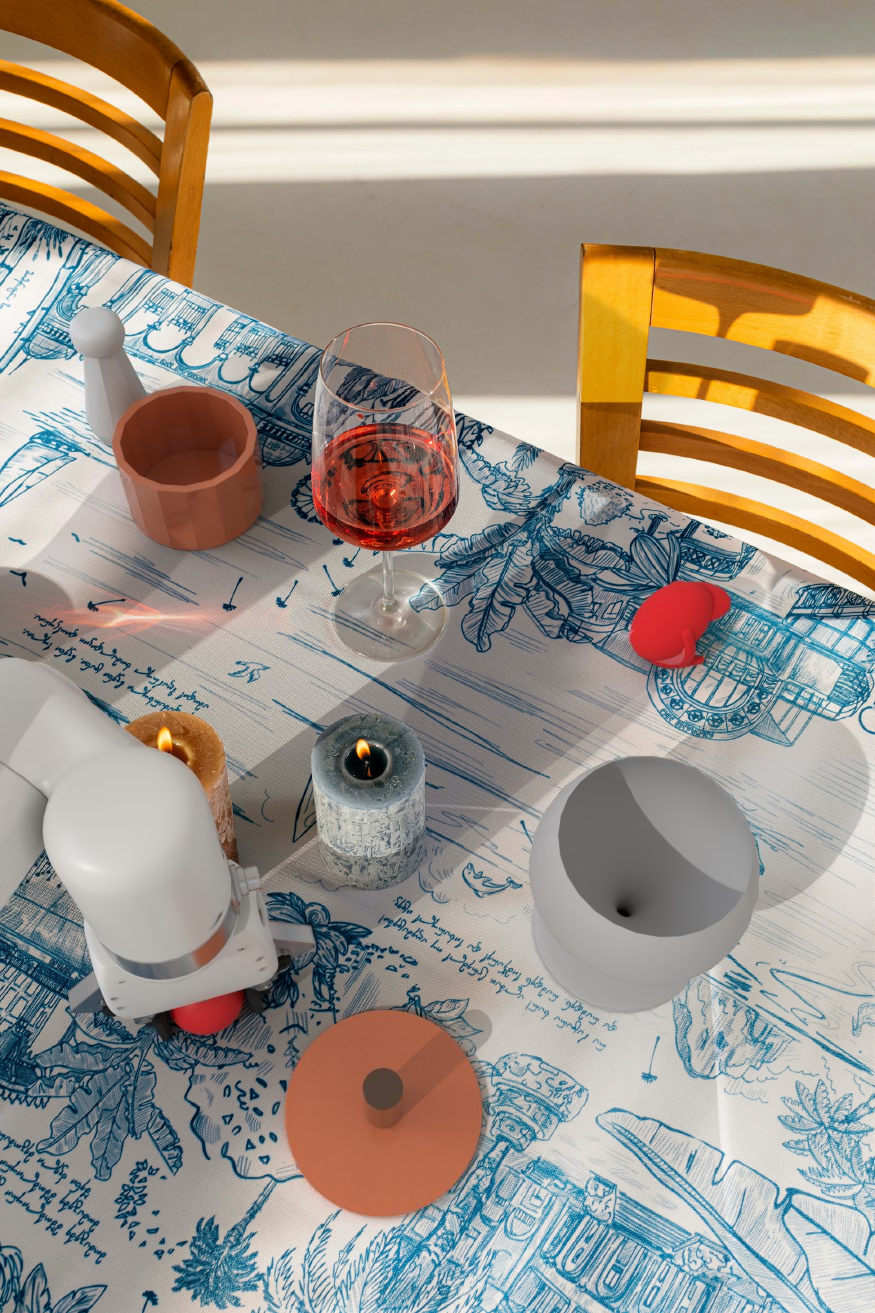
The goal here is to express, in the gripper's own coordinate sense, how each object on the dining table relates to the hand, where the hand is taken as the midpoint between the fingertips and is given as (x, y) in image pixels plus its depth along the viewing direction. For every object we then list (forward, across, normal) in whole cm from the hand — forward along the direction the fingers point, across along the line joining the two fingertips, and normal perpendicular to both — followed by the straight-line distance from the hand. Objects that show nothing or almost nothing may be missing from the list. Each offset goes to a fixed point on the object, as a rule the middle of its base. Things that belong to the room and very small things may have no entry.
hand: (209, 1003), depth 79 cm
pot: (0, -7, -43) cm, 44 cm away
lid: (0, -9, +10) cm, 13 cm away
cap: (+1, -41, -18) cm, 45 cm away
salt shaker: (+1, -2, -52) cm, 52 cm away
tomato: (0, 0, 0) cm, 0 cm away
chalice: (+1, -28, +3) cm, 28 cm away
